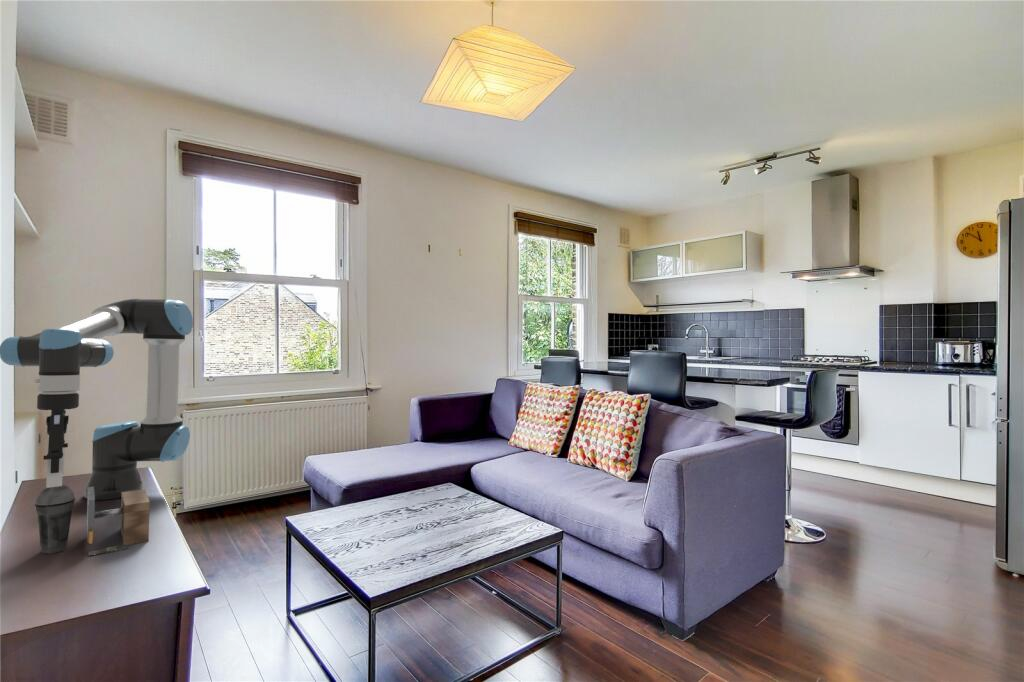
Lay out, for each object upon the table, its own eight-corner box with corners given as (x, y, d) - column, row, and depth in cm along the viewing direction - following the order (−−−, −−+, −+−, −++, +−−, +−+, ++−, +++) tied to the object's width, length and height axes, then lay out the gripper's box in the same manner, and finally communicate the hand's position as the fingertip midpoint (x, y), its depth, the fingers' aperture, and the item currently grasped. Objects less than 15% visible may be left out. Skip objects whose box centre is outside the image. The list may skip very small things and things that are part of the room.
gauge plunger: (87, 544, 119) (88, 502, 119) (86, 525, 131) (87, 487, 131) (139, 535, 125) (140, 494, 125) (134, 517, 137) (135, 481, 137)
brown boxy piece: (88, 556, 118) (89, 513, 118) (87, 535, 131) (89, 496, 131) (149, 544, 126) (150, 504, 126) (143, 525, 139) (144, 489, 139)
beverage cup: (81, 546, 124) (83, 465, 124) (45, 558, 117) (48, 471, 117) (61, 542, 126) (64, 462, 126) (25, 553, 119) (28, 468, 119)
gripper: (40, 389, 129) (37, 472, 128) (33, 397, 110) (29, 494, 109) (79, 388, 134) (76, 468, 133) (79, 395, 115) (75, 489, 114)
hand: (55, 480), depth 121 cm, fingers open, 13 cm apart
